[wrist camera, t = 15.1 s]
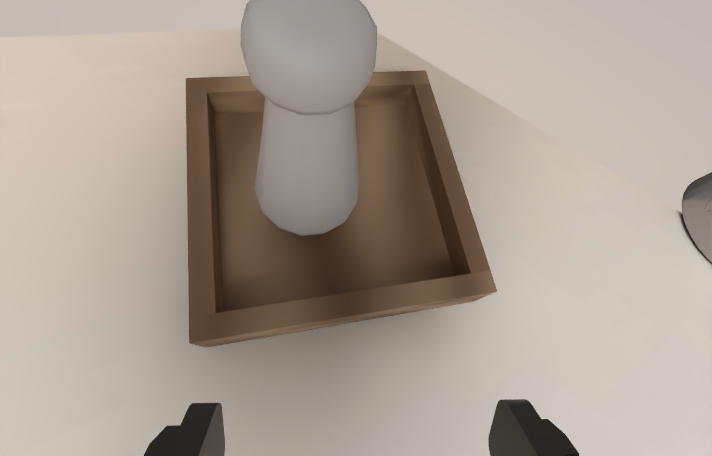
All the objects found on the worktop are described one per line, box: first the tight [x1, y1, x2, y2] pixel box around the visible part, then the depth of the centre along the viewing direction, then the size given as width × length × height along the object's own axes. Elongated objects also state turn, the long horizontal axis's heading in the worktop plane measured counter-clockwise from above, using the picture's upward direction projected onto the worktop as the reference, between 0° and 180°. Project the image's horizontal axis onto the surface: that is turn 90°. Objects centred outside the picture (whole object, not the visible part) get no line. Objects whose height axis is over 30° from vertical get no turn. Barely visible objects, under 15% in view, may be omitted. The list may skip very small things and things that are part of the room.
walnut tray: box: [186, 71, 497, 347], centre depth 22 cm, size 16×16×3 cm
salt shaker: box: [241, 0, 377, 236], centre depth 16 cm, size 6×6×13 cm
